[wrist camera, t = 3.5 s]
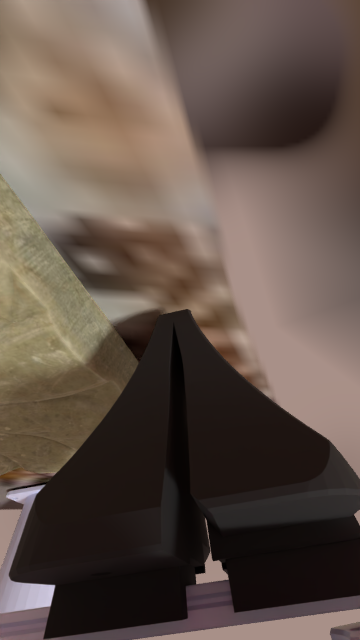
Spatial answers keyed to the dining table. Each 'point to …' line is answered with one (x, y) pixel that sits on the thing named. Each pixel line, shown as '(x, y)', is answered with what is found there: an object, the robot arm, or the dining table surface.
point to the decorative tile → (49, 349)
